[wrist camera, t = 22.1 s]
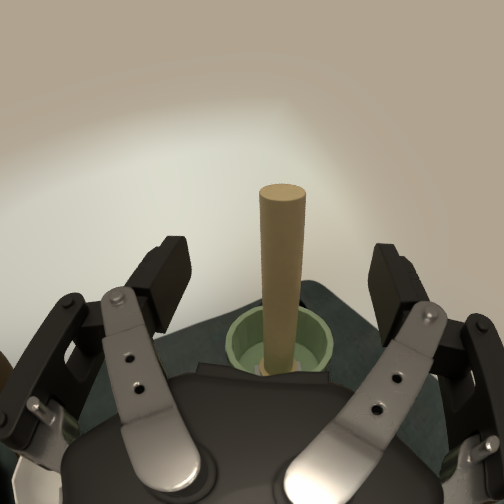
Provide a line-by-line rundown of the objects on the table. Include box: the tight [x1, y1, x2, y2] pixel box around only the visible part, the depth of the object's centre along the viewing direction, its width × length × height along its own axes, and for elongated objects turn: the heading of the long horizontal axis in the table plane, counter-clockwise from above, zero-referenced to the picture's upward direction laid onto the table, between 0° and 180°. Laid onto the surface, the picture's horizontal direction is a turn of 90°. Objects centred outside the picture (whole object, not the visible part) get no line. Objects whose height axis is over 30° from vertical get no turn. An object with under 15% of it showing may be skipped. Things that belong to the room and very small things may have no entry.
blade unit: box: [254, 184, 306, 376], centre depth 24 cm, size 5×5×20 cm
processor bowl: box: [225, 306, 334, 374], centre depth 28 cm, size 10×10×6 cm
